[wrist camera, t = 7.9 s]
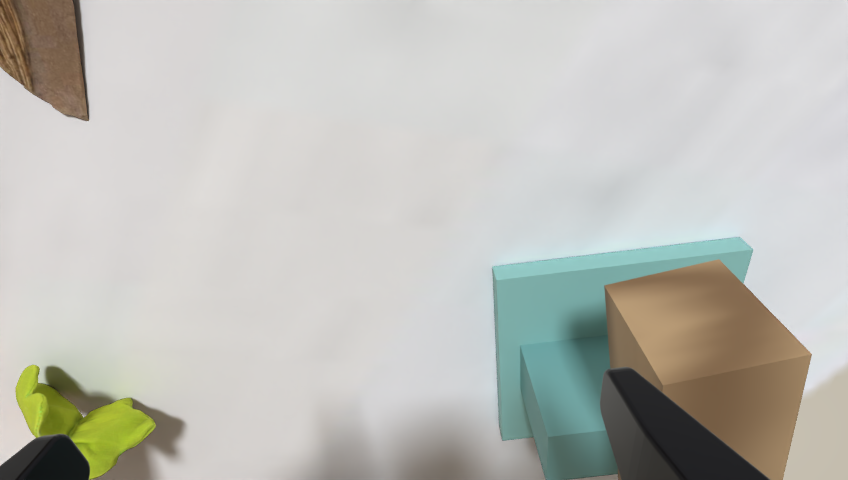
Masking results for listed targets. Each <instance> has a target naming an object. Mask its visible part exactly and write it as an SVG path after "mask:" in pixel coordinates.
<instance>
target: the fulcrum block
mask: <svg viewBox="0 0 848 480" xmlns="http://www.w3.org/2000/svg"><path fill="white" fill-rule="evenodd" d="M752 252H753V249H752V248H751V247H750V246H749V245H748V244H747V243H746V242H745V241H743V240H742V239H741V238H740V237H736V238H728V239H719V240H711V241H703V242H694V243H686V244H678V245H669V246H661V247H653V248H644V249H636V250H628V251H619V252H611V253H603V254H594V255H586V256H577V257H569V258H561V259H552V260H544V261H536V262H527V263H519V264H511V265H502V266H494V267H493V290H494V314H495V337H496V361H497V385H498V408H499V427H500V431H501V436H502V441H505V440H514V439H522V438H531V437H534V439H535V443H536V447H537V450H538V454H539V457H540V461H541V465H542V468H543V472H544V475H545V479H546V480H568V479H577V478H586V477H595V476H603V475H612V474H618V467H617V464H616V460H615V457H614V454H613V451H612V447H611V444H610V441H609V438H608V434H607V431H606V428H605V425H604V421H603V418H602V415H601V409H600V397H601V389H602V380H603V374H604V372H605V370H607V369H610V358H609V344H608V330H607V317H606V303H605V289H604V285H608V284H612V283H617V282H621V281H626V280H630V279H634V278H639V277H643V276H647V275H652V274H656V273H661V272H665V271H669V270H674V269H678V268H682V267H687V266H691V265H696V264H700V263H704V262H709V261H713V260H718V259H719V260H720V261H721V262H722V263H723V264H724V265H725V266H726V267H727V268H728V269H729V270H730V271H731V272H732V273H733V274H734V275H735V276H736V277H737V278H738V279H739V280H740V281H741V282H742V283H744V280H745V276H746V273H747V269H748V266H749V263H750V259H751V256H752Z"/></svg>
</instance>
